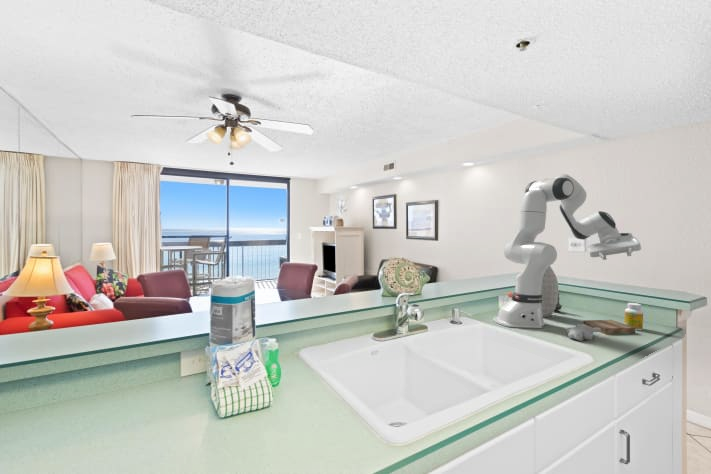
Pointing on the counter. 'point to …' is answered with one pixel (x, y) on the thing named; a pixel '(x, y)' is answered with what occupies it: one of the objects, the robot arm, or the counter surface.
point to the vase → (549, 292)
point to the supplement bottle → (634, 316)
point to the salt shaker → (558, 306)
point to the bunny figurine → (582, 332)
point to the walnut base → (610, 326)
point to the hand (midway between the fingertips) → (616, 256)
